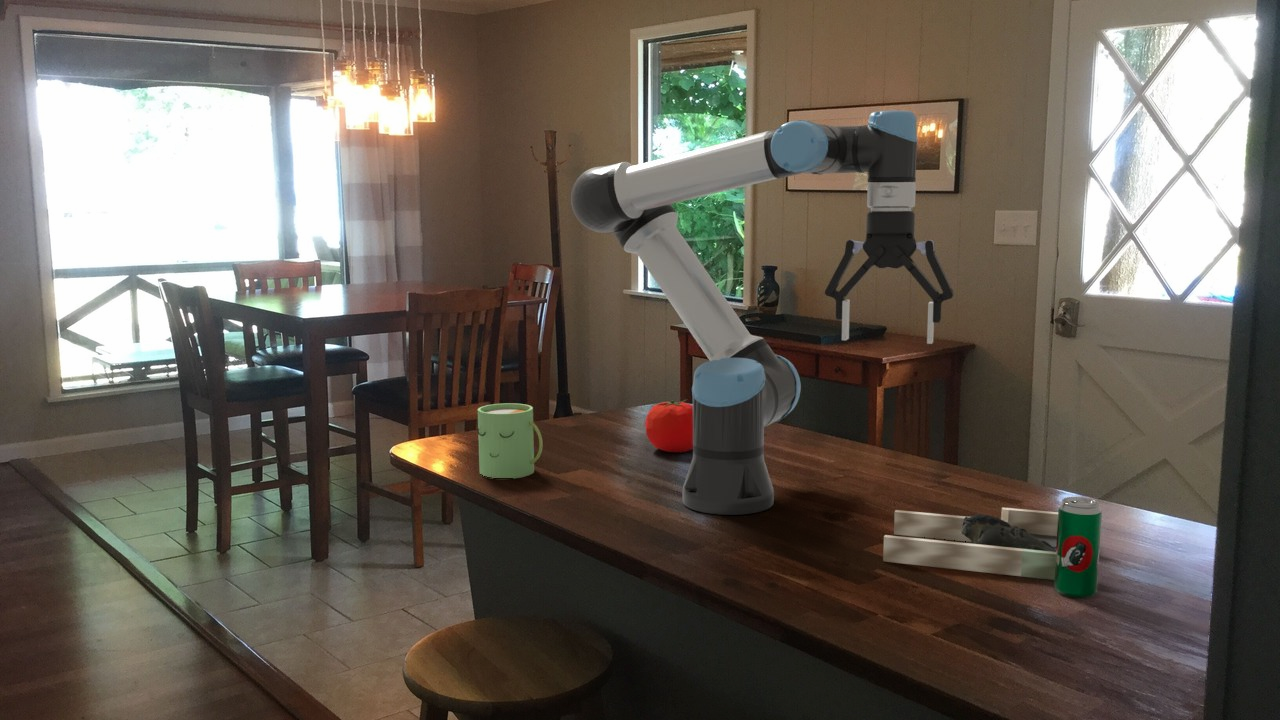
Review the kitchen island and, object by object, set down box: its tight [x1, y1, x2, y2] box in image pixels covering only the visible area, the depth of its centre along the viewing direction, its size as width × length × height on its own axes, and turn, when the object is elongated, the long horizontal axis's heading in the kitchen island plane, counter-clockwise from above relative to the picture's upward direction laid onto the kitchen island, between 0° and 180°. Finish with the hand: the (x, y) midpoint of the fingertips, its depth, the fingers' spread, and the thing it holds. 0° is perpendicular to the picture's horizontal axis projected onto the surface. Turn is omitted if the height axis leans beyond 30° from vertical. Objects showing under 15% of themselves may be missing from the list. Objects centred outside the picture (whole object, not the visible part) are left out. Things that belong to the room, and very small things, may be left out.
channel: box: [882, 507, 1058, 581], centre depth 150 cm, size 27×20×4 cm
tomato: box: [644, 398, 693, 453], centre depth 210 cm, size 12×12×10 cm
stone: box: [962, 514, 1056, 552], centre depth 148 cm, size 7×13×5 cm, turn 58°
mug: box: [477, 402, 544, 479], centre depth 194 cm, size 13×10×12 cm
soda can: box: [1053, 496, 1103, 599], centre depth 133 cm, size 5×5×12 cm
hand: (887, 341), depth 171 cm, fingers open, 13 cm apart
